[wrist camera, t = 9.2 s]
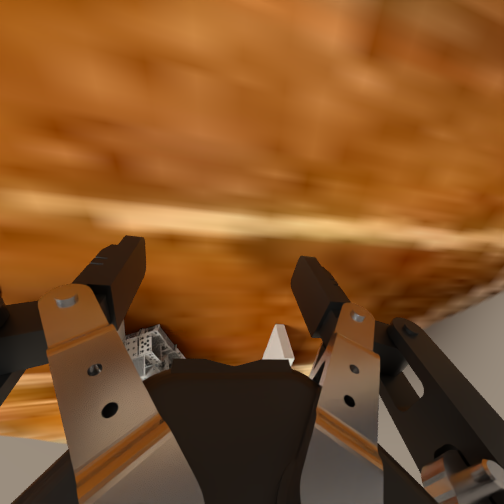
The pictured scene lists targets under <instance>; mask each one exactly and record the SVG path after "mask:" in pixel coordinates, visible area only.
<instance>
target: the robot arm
mask: <svg viewBox="0 0 504 504" xmlns="http://www.w3.org/2000/svg"><path fill="white" fill-rule="evenodd" d="M145 271H146V253H145V240H144V238H143V237H136V236H127V235H126V236H125V237H124V238H123V239H122V240H121V242H120V243H119V244H118V245H113V244H112V245H110V246H108V247H106V248H104V249H102V250H101V251H100V252H99V253H98V254H97V256H96V258H94V259H93V260H92V261H91V262H90V264H89V265H88V266H87V267H86V268H85V269H84V270H83V271H82V272H81V274H80V275H79V276H78V277H77V278H76V279H75V280H74V281H73V282H72V284H67V285H63V286H59V287H56V288H54V289H52V290H50V291H48V292H46V293H45V294H44V295H43V296H42V297H41V298H40V299H39V301H34V302H26V303H19V304H12V305H5V303H4V301H3V299H2V298H1V297H0V406H1V405H2V403H3V402H4V400H5V399H6V397H7V396H8V395H9V393H10V392H11V390H12V389H13V387H14V386H15V385H16V383H17V382H18V380H19V379H20V377H21V376H22V375H23V373H24V372H25V370H26V369H28V368H32V367H36V366H40V365H44V364H48V363H49V366H50V371H51V375H52V379H53V384H54V388H55V392H56V397H57V401H58V405H59V409H60V414H61V418H62V422H63V427H64V431H65V435H66V440H67V444H68V448H69V449H68V450H67V451H66V452H65V453H64V454H63V455H62V456H61V457H60V458H59V459H58V460H56V461H55V462H54V463H53V464H52V465H51V466H50V467H49V468H48V469H47V470H46V471H45V472H44V473H43V474H42V475H41V476H40V477H39V478H37V479H36V480H35V481H34V482H33V483H32V484H31V485H30V486H29V487H28V488H27V489H26V490H25V491H24V492H23V493H22V494H21V495H20V496H19V497H18V498H16V499H15V500H14V501H13V502H12V503H11V504H504V420H503V419H502V418H501V417H500V416H499V415H498V414H497V413H496V411H495V410H494V409H493V408H492V407H491V406H490V405H489V404H488V403H487V401H486V400H485V399H484V398H483V397H482V396H481V395H480V393H479V392H478V391H477V390H476V389H475V388H474V387H473V386H472V384H471V383H470V382H469V381H468V380H467V379H466V378H465V377H464V376H463V374H462V373H461V372H460V371H459V370H458V369H457V368H456V366H454V364H453V363H452V362H451V361H450V360H449V359H448V357H447V356H446V355H445V354H444V353H443V352H442V351H441V350H440V349H439V347H438V346H437V345H436V344H435V343H434V342H433V341H432V340H431V338H430V337H429V336H428V335H427V334H426V333H425V332H424V331H423V330H422V329H421V328H420V327H419V326H418V325H416V324H415V323H413V322H411V321H409V320H407V319H404V318H394V319H393V321H392V322H391V323H390V325H389V324H385V323H382V322H379V321H376V320H374V317H373V316H372V314H371V313H370V312H369V311H368V310H366V309H365V308H363V307H362V306H360V305H358V304H355V303H351V302H350V301H349V299H348V298H347V296H346V295H345V293H344V292H343V291H342V289H341V288H340V286H338V283H337V282H336V281H335V279H334V278H333V276H332V275H331V273H330V272H328V271H327V270H326V269H325V268H324V267H321V265H320V264H319V262H318V261H317V259H316V258H315V257H308V256H300V258H299V260H298V262H297V265H296V268H295V270H294V273H293V276H292V279H291V289H292V291H293V294H294V296H295V298H296V301H297V303H298V306H299V308H300V311H301V313H302V315H303V318H304V320H305V323H306V325H307V328H308V330H309V333H310V335H311V337H312V338H321V339H322V343H321V345H320V347H319V350H318V353H317V356H316V359H315V361H314V364H313V367H312V370H311V373H310V375H309V377H308V376H306V375H304V374H302V373H300V372H298V371H296V370H293V369H291V367H290V363H289V359H262V360H258V361H254V362H250V363H246V364H243V365H239V366H230V365H226V364H222V363H218V362H214V361H211V360H207V359H173V362H172V368H171V369H168V370H164V371H162V372H159V373H156V374H154V375H152V376H150V377H148V378H147V379H145V380H144V381H142V380H141V378H140V376H139V374H138V372H137V370H136V368H135V366H134V364H133V362H132V360H131V358H130V356H129V354H128V352H127V350H126V348H125V346H124V344H123V342H122V340H121V338H120V336H119V334H118V332H117V331H118V330H119V328H120V325H121V323H122V321H123V319H124V317H125V315H126V313H127V311H128V309H129V307H130V305H131V303H132V300H133V298H134V296H135V294H136V292H137V290H138V288H139V286H140V284H141V282H142V280H143V278H144V275H145ZM408 364H409V365H410V367H411V368H412V369H413V371H414V372H415V374H416V375H417V376H418V378H419V379H420V381H421V382H422V384H423V387H424V395H423V396H422V397H421V398H419V396H418V395H417V393H416V392H415V390H414V389H413V387H412V386H411V384H410V383H409V381H408V380H407V378H406V377H405V375H404V374H403V372H402V370H404V368H405V367H406V366H407V365H408ZM379 394H380V396H381V398H382V400H383V402H384V404H385V406H386V408H387V409H388V412H389V414H390V415H391V417H392V419H393V421H394V423H395V425H396V427H397V429H398V431H399V433H400V435H401V436H402V439H403V440H404V442H405V444H406V446H407V448H408V450H409V452H410V454H411V456H412V458H413V459H414V461H415V463H416V465H417V467H418V469H419V471H420V473H421V478H422V483H423V486H424V488H423V487H422V486H421V485H420V484H419V483H418V482H417V481H416V480H415V479H414V478H413V477H412V476H411V475H410V474H409V473H408V472H407V471H406V470H405V469H404V468H402V467H401V466H400V465H399V463H398V462H397V461H396V460H394V458H393V457H391V456H390V455H389V454H388V453H387V452H386V451H385V450H384V449H383V448H382V447H381V446H380V445H379V444H378V443H377V441H378V438H377V437H378V410H379Z"/></svg>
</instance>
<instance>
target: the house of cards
mask: <svg viewBox="0 0 504 504" xmlns="http://www.w3.org/2000/svg"><path fill="white" fill-rule="evenodd" d="M122 342H123V343H124V344H125V348H126V350H127V352H128V354H129V356H130V358H131V360H132V362H133V364H134V366H135V368H136V370H137V372H138V374H139V376H140V378H141V380H142V381H144V380H145V379H147V378H148V377H150V376H152V375H154V374H156V373H159V372H162V371H164V370H168V369H171V368H172V362H173V359H186V358H185V357H184V356H183V354H182V353H181V352H180V351H179V349H178V348H177V344H176V345H174V344H173V343H172V342H171V340H170V339H169V338H168V337H167V335H166V334H165V332H164V331H163V330H162V329H161V327H160V324H159V325H155V326H152V327H149V328H146V329H143V328H142V330H141V329H140V330H139V331H138V332H135V333H132V334H129V335H126V336H125V338H124V340H123V341H122Z"/></svg>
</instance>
